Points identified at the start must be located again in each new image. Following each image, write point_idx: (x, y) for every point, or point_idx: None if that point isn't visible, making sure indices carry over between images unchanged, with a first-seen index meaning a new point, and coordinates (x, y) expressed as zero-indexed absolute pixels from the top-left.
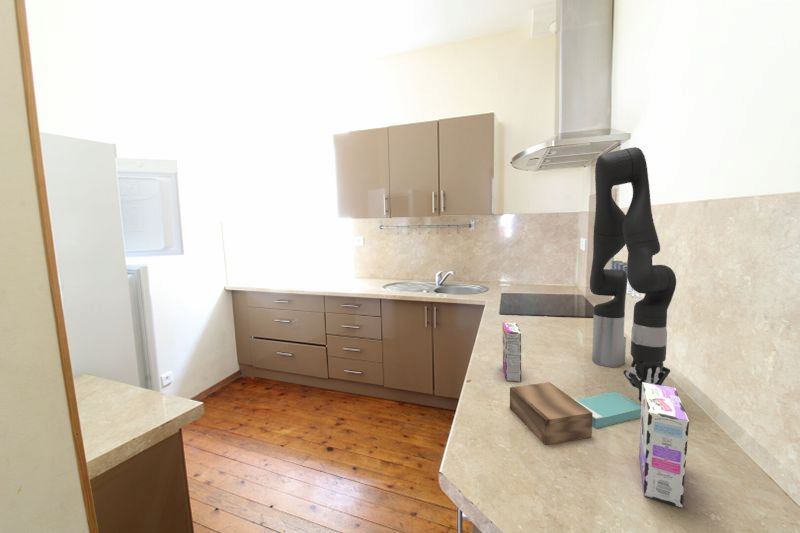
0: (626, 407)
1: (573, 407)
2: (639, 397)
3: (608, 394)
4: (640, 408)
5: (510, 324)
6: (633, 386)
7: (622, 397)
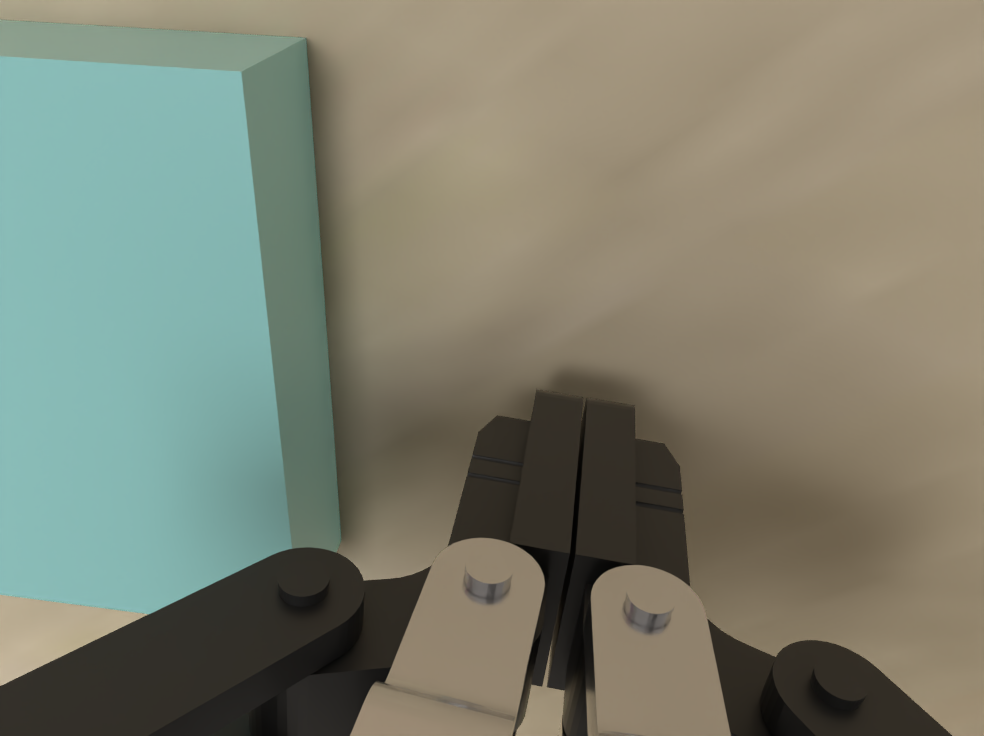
0: (22, 525)
1: None
2: (476, 456)
3: (2, 118)
4: None
5: None
6: (279, 571)
7: (194, 315)
